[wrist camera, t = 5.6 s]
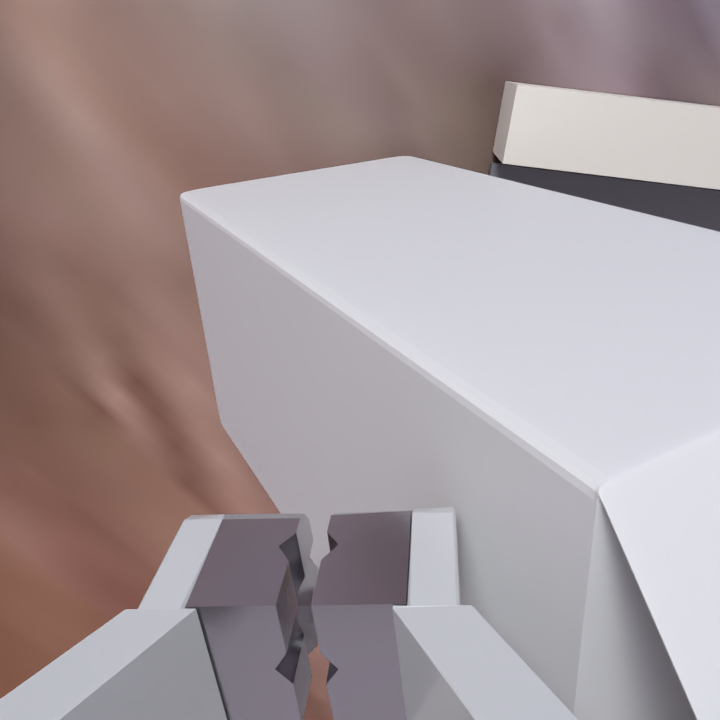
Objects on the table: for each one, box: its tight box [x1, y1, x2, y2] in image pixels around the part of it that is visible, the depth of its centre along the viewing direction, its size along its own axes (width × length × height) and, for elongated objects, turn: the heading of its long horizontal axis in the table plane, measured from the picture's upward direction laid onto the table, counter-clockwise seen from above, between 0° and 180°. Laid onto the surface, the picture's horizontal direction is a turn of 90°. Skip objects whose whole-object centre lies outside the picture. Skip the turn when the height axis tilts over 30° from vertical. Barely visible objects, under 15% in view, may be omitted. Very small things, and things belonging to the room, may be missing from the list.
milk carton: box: [180, 156, 720, 720], centre depth 13 cm, size 7×7×19 cm
